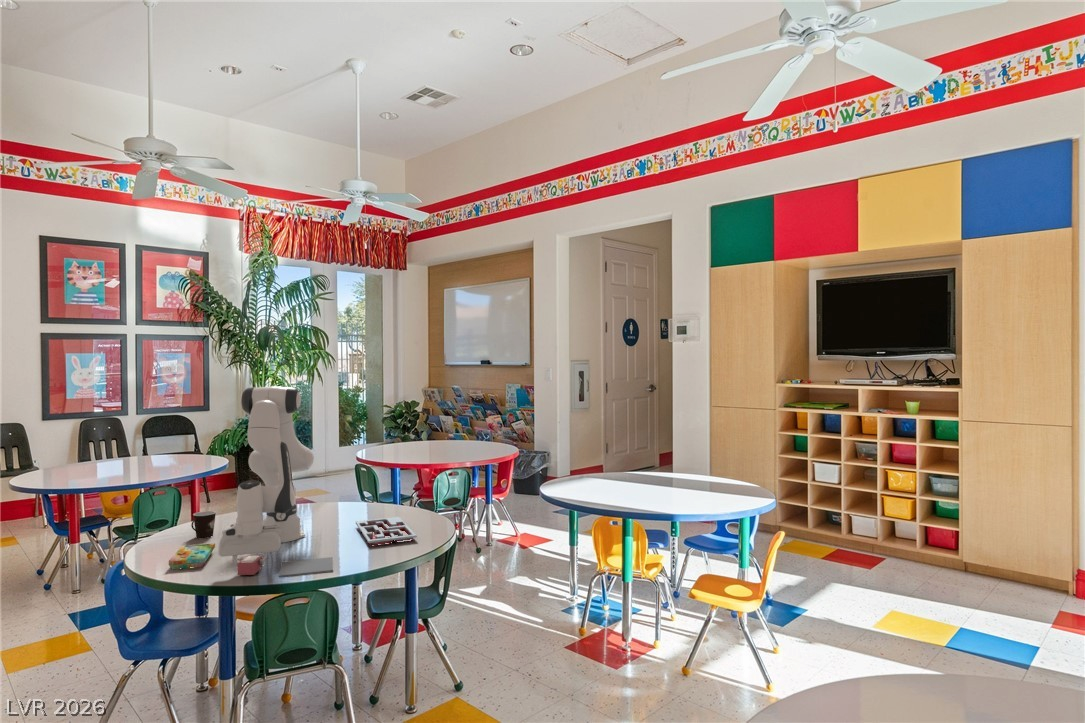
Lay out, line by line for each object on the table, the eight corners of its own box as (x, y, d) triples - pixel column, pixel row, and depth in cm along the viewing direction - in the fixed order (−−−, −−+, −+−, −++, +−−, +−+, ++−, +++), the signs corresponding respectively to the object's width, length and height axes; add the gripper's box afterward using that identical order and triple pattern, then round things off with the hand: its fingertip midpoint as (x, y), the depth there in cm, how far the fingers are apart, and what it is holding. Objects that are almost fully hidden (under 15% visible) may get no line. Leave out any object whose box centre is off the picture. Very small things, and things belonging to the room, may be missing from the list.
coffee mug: (209, 532, 285) (209, 510, 285) (219, 535, 280) (219, 512, 280) (182, 538, 275) (182, 515, 275) (192, 542, 270) (192, 518, 270)
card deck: (246, 566, 235) (246, 555, 235) (262, 566, 235) (262, 555, 235) (237, 575, 226) (237, 563, 226) (254, 574, 227) (253, 562, 227)
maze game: (416, 543, 269) (416, 535, 269) (368, 548, 261) (368, 541, 261) (398, 523, 301) (398, 516, 301) (355, 528, 293) (355, 521, 293)
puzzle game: (168, 559, 233) (182, 543, 252) (168, 572, 233) (182, 555, 252) (204, 555, 237) (215, 541, 256) (204, 568, 237) (215, 553, 256)
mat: (281, 563, 241) (281, 561, 241) (332, 558, 247) (332, 557, 247) (279, 577, 226) (279, 575, 226) (333, 571, 232) (333, 569, 232)
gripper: (281, 522, 237) (282, 560, 237) (220, 527, 230) (220, 566, 231) (280, 527, 231) (281, 565, 231) (217, 532, 224) (217, 571, 225)
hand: (250, 565), depth 231 cm, fingers closed on card deck, 6 cm apart
